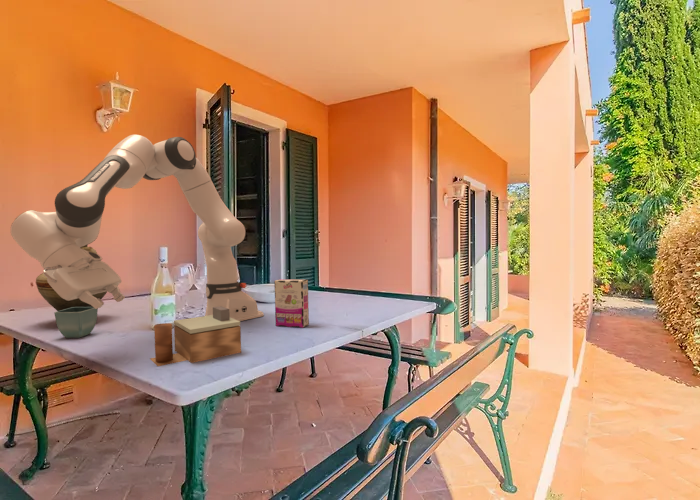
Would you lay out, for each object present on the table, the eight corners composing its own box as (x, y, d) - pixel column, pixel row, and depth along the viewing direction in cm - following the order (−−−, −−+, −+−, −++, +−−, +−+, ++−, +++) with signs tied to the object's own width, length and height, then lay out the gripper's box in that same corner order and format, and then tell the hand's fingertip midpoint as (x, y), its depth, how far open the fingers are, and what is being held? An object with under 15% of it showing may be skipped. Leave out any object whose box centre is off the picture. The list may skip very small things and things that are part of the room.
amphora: (31, 323, 150) (27, 244, 149) (101, 313, 168) (98, 243, 167) (47, 333, 134) (42, 245, 133) (122, 320, 152) (119, 243, 151)
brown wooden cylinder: (170, 356, 103) (169, 322, 102) (174, 360, 100) (173, 325, 99) (153, 359, 100) (152, 324, 100) (157, 363, 97) (156, 327, 97)
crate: (221, 345, 117) (220, 318, 116) (241, 355, 106) (240, 326, 105) (147, 359, 104) (145, 329, 104) (161, 373, 93) (159, 340, 93)
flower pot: (81, 339, 125) (80, 311, 125) (54, 340, 125) (53, 312, 125) (99, 332, 134) (98, 306, 134) (74, 333, 134) (73, 306, 134)
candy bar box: (309, 325, 141) (308, 279, 140) (303, 328, 136) (302, 280, 135) (281, 323, 144) (280, 278, 143) (274, 326, 139) (273, 280, 139)
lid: (220, 317, 116) (220, 303, 116) (240, 325, 105) (240, 310, 105) (174, 324, 108) (173, 309, 108) (190, 333, 97) (189, 317, 97)
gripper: (48, 258, 88) (95, 301, 88) (102, 253, 108) (140, 288, 109) (28, 278, 88) (75, 321, 88) (86, 270, 108) (124, 304, 109)
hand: (111, 303), depth 99 cm, fingers open, 8 cm apart
